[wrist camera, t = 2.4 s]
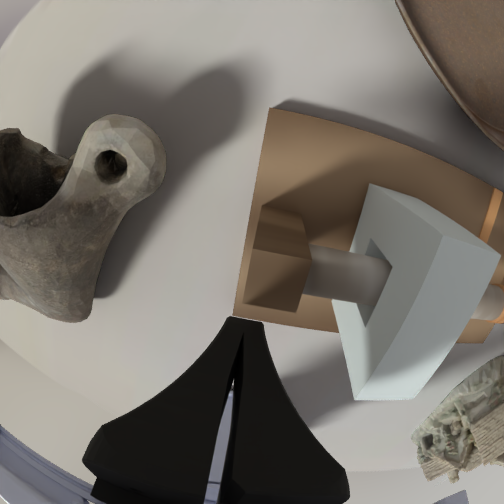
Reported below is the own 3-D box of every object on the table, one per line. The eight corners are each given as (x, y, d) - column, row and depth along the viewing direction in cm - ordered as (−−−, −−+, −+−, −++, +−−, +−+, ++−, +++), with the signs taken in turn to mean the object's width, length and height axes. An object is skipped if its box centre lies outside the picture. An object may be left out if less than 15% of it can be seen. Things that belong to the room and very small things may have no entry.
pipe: (155, 220, 24) (155, 64, 12) (178, 311, 21) (181, 161, 8) (6, 255, 18) (-67, 138, 6) (6, 345, 15) (-116, 258, 2)
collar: (376, 308, 15) (412, 399, 9) (331, 301, 15) (354, 400, 9) (417, 198, 12) (501, 255, 6) (369, 183, 12) (443, 234, 6)
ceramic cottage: (516, 340, 18) (562, 445, 4) (498, 398, 23) (521, 474, 10) (400, 403, 23) (416, 526, 10) (412, 441, 29) (422, 522, 16)
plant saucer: (522, -4, 4) (541, -9, 1) (548, 173, 11) (571, 182, 8) (346, -84, 5) (354, -106, 2) (383, 129, 13) (406, 130, 10)
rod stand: (478, 336, 18) (508, 384, 12) (234, 306, 18) (216, 381, 12) (533, 214, 12) (583, 246, 7) (270, 109, 13) (264, 91, 7)
